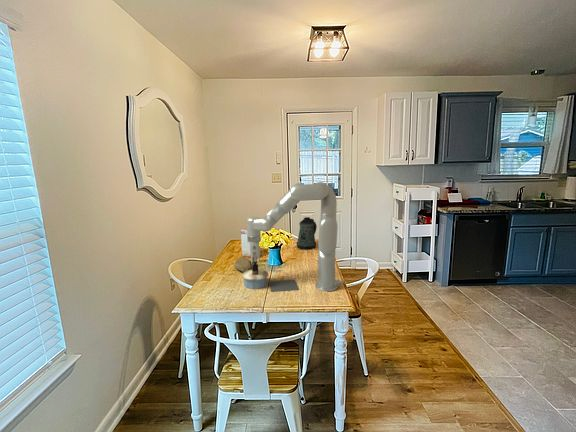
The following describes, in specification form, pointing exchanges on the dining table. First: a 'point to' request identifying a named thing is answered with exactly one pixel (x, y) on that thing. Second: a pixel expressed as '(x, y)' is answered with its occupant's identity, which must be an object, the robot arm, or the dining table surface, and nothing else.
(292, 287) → the mat
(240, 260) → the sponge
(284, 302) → the dining table surface
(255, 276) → the lid
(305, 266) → the dining table surface
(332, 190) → the robot arm
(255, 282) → the cup
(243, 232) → the cracker box
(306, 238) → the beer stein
